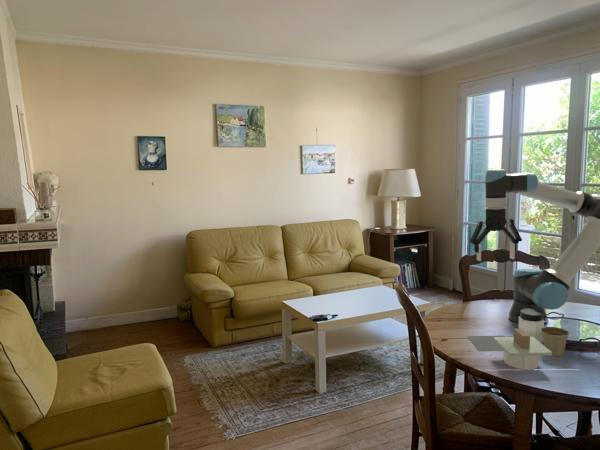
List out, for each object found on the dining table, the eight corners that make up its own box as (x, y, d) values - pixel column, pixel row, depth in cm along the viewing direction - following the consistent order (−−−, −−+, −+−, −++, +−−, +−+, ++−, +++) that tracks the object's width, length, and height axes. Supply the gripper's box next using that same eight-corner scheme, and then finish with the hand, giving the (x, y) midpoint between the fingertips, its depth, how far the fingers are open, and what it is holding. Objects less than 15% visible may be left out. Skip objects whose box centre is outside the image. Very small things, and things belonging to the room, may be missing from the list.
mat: (504, 336, 180) (504, 335, 180) (519, 352, 165) (519, 350, 165) (466, 337, 181) (466, 336, 181) (478, 352, 167) (478, 351, 166)
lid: (532, 339, 162) (533, 324, 161) (552, 355, 148) (552, 339, 147) (493, 339, 163) (493, 325, 162) (509, 355, 149) (509, 340, 148)
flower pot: (533, 349, 167) (534, 327, 166) (557, 347, 168) (558, 325, 167) (549, 360, 158) (550, 336, 157) (574, 358, 159) (575, 335, 158)
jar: (532, 346, 170) (533, 316, 168) (514, 339, 177) (514, 310, 175) (547, 342, 173) (549, 312, 172) (529, 335, 181) (530, 307, 179)
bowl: (530, 356, 161) (530, 340, 161) (544, 370, 150) (545, 353, 150) (499, 356, 162) (499, 341, 161) (511, 370, 151) (511, 353, 150)
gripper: (522, 205, 182) (521, 256, 185) (461, 208, 183) (461, 259, 185) (531, 207, 175) (530, 259, 177) (467, 210, 175) (468, 263, 178)
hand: (495, 259), depth 181 cm, fingers open, 13 cm apart
